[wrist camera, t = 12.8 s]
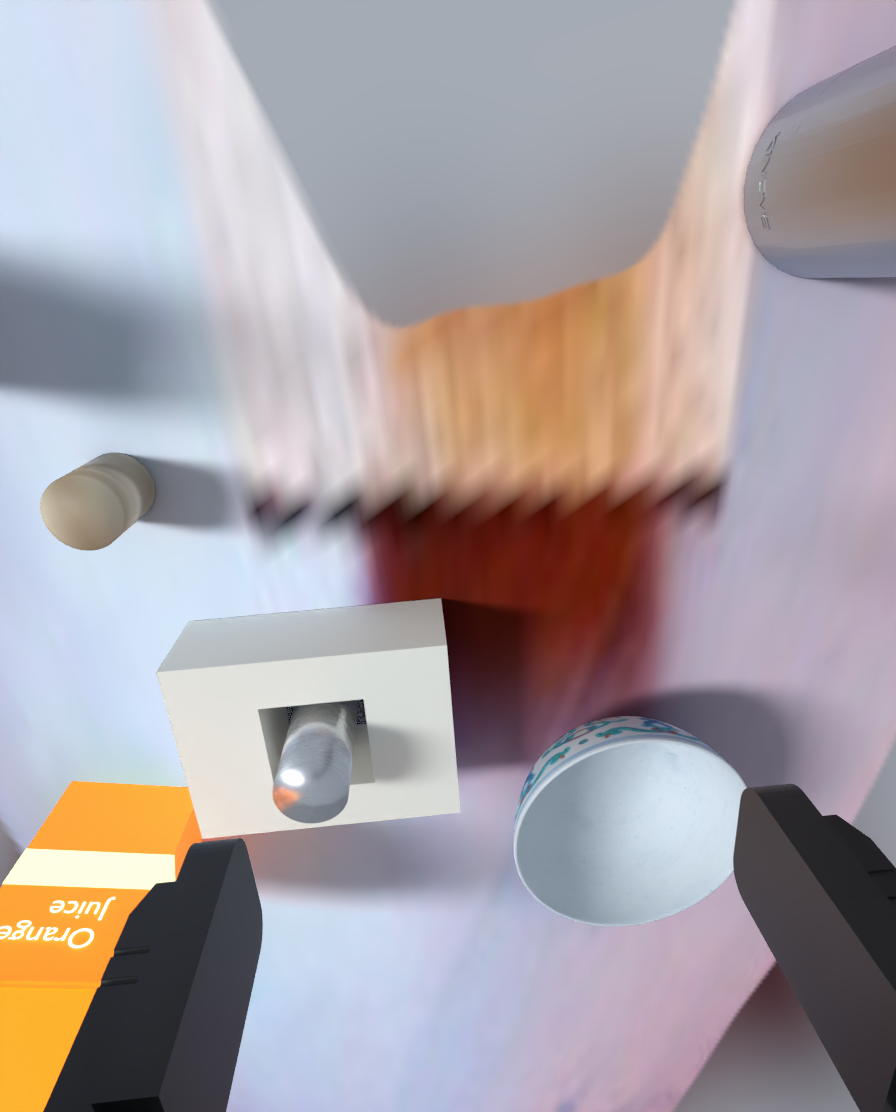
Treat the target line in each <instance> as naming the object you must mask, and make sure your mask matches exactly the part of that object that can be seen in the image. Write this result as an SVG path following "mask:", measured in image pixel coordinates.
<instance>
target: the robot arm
mask: <svg viewBox="0 0 896 1112" xmlns="http://www.w3.org/2000/svg"><path fill="white" fill-rule="evenodd" d="M744 213H745V218H746V223H747V228H748V230H749V233H750V235H751V237H752V240H753V242H754V244H755V246H756V247H757V249H758V250H759V251H760V253H761V254H762V255H763V257H764V258H765V259H766V260H767V261H768V262H770V263H771V264H772V265H774V266H775V267H776V268H777V269H779V270H781V271H783V272H786V273H788V274H790V275H793V276H797V277H804V278H866V277H896V46H894V47H892V48H890V49H888V50H886V51H883V52H881V53H879V54H877V55H875V56H873V57H871V58H869V59H867V60H864V61H862V62H860V63H858V64H856V65H854V66H852V67H850V68H848V69H846V70H844V71H842V72H840V73H838V74H836V75H834V76H832V77H830V78H828V79H826V80H824V81H822V82H820V83H818V84H816V85H814V86H812V87H810V88H809V89H807V90H805V91H803V92H802V93H800V94H798V95H797V96H796V97H794V98H793V99H792V100H791V101H790V102H789V103H787V104H786V105H785V106H784V107H783V108H782V109H781V110H780V111H779V112H778V113H777V114H776V116H775V117H774V118H773V119H772V121H771V122H770V123H769V124H768V125H767V127H766V129H765V130H764V132H763V134H762V136H761V137H760V139H759V141H758V143H757V144H756V146H755V149H754V152H753V154H752V157H751V160H750V163H749V165H748V169H747V174H746V180H745V185H744ZM733 868H734V874H735V879H736V883H737V886H738V889H739V892H740V895H741V897H742V899H743V901H744V903H745V905H746V907H747V908H748V910H749V912H750V914H751V916H752V917H753V919H754V921H755V923H756V925H757V926H758V928H759V930H760V932H761V934H762V935H763V937H764V939H765V941H766V943H767V944H768V946H769V948H770V950H771V952H772V953H773V955H774V957H775V959H776V961H777V962H778V964H779V966H780V968H781V970H782V971H783V973H784V975H785V977H786V979H787V980H788V982H789V984H790V986H791V988H792V989H793V991H794V993H795V995H796V997H797V998H798V1000H799V1002H800V1004H801V1006H802V1007H803V1009H804V1011H805V1013H806V1014H807V1016H808V1018H809V1020H810V1022H811V1024H812V1025H813V1027H814V1029H815V1031H816V1033H817V1034H818V1036H819V1038H820V1040H821V1042H822V1043H823V1045H824V1047H825V1049H826V1051H827V1052H828V1054H829V1056H830V1058H831V1060H832V1061H833V1063H834V1065H835V1067H836V1068H837V1070H838V1072H839V1074H840V1076H841V1078H842V1079H843V1081H844V1083H845V1085H846V1086H847V1088H848V1090H849V1092H850V1094H851V1096H852V1097H853V1099H854V1101H855V1102H856V1105H857V1106H858V1108H859V1110H860V1112H896V868H895V867H894V866H893V864H892V863H891V862H890V861H889V860H888V859H887V858H886V856H885V855H884V854H883V853H882V852H881V850H880V849H879V848H878V847H877V846H876V844H875V843H874V842H873V841H872V840H871V839H870V838H869V837H867V836H866V835H865V834H863V833H862V832H860V831H859V830H857V829H856V828H855V827H853V826H852V825H850V824H849V823H847V822H846V821H845V820H843V819H842V818H840V817H839V816H837V815H829V816H822V815H821V814H820V812H819V811H818V810H817V809H816V807H815V806H814V805H813V804H812V802H811V801H810V800H809V799H808V797H807V796H806V795H805V793H804V792H803V791H802V790H801V789H800V788H799V787H798V786H796V785H794V784H785V785H775V786H765V787H756V788H747V789H745V790H744V791H743V792H742V794H741V799H740V806H739V814H738V822H737V830H736V838H735V846H734V854H733ZM261 943H262V910H261V904H260V900H259V896H258V892H257V888H256V884H255V879H254V875H253V871H252V867H251V863H250V859H249V855H248V851H247V847H246V844H245V842H244V840H243V839H242V838H238V839H228V840H218V841H208V842H199V843H193V844H192V845H191V846H190V847H189V849H188V851H187V853H186V856H185V859H184V861H183V864H182V866H181V869H180V872H179V874H178V877H177V880H176V881H174V882H164V883H156V884H155V885H154V886H153V887H152V888H151V890H150V891H149V892H148V893H147V894H146V895H145V897H144V898H143V899H142V900H141V901H140V902H139V904H138V905H137V906H136V907H135V908H134V909H133V911H132V912H131V913H130V914H129V916H128V918H127V921H126V923H125V925H124V927H123V930H122V932H121V934H120V937H119V939H118V941H117V943H116V946H115V948H114V955H113V957H110V960H109V962H108V964H107V966H106V969H105V971H104V973H103V976H102V978H101V985H100V987H97V989H96V992H95V994H94V996H93V999H92V1001H91V1003H90V1005H89V1008H88V1010H87V1012H86V1015H85V1017H84V1019H83V1021H82V1024H81V1026H80V1028H79V1031H78V1033H77V1035H76V1037H75V1040H74V1042H73V1044H72V1047H71V1049H70V1051H69V1054H68V1056H67V1058H66V1060H65V1063H64V1065H63V1067H62V1070H61V1072H60V1074H59V1076H58V1079H57V1081H56V1083H55V1086H54V1088H53V1090H52V1093H51V1095H50V1097H49V1099H48V1102H47V1104H46V1106H45V1108H44V1110H43V1112H226V1109H227V1104H228V1099H229V1095H230V1090H231V1085H232V1081H233V1076H234V1071H235V1067H236V1062H237V1057H238V1053H239V1048H240V1043H241V1039H242V1034H243V1029H244V1025H245V1020H246V1015H247V1011H248V1006H249V1001H250V997H251V992H252V987H253V983H254V978H255V973H256V969H257V964H258V959H259V955H260V949H261Z"/></svg>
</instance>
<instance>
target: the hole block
mask: <svg viewBox="0 0 896 1112" xmlns="http://www.w3.org/2000/svg"><path fill="white" fill-rule="evenodd" d="M156 674H157V677H158V681H159V684H160V688H161V692H162V695H163V699H164V702H165V706H166V710H167V713H168V717H169V720H170V724H171V728H172V731H173V735H174V738H175V742H176V746H177V749H178V753H179V757H180V760H181V764H182V767H183V771H184V775H185V778H186V782H187V785H188V789H189V793H190V796H191V800H192V803H193V807H194V811H195V814H196V818H197V822H198V825H199V829H200V832H201V836H202V839H206V838H216V837H226V836H236V835H246V834H256V833H265V832H275V831H285V830H295V829H305V828H314V827H324V826H334V825H344V824H354V823H364V822H373V821H383V820H393V819H403V818H413V817H423V816H432V815H442V814H452V813H460V801H459V789H458V776H457V764H456V752H455V739H454V727H453V714H452V702H451V690H450V677H449V665H448V652H447V642H446V634H445V626H444V618H443V610H442V602H441V598H439V599H428V600H417V601H406V602H395V603H384V604H373V605H362V606H351V607H340V608H329V609H318V610H307V611H296V612H285V613H274V614H263V615H252V616H241V617H230V618H219V619H208V620H197V621H189V622H188V623H187V625H186V627H185V628H184V630H183V631H182V633H181V634H180V636H179V638H178V639H177V641H176V642H175V644H174V645H173V647H172V648H171V650H170V652H169V653H168V655H167V656H166V658H165V659H164V661H163V663H162V664H161V666H160V667H159V669H158V670H157V672H156ZM360 699H363V700H364V707H365V714H366V721H367V723H366V724H356V732H355V741H354V751H353V760H352V769H351V779H350V788H349V797H348V802H347V804H346V806H345V808H344V809H343V810H342V812H341V813H339V814H338V815H337V816H336V817H334V818H332V819H330V820H328V821H325V822H321V823H312V824H311V823H301V822H297V821H295V820H292V819H290V818H288V817H287V816H285V815H284V814H283V813H281V812H280V810H279V809H278V808H277V807H276V805H275V803H274V800H273V795H272V790H273V785H274V781H275V778H276V774H277V770H278V766H279V762H280V759H281V755H282V751H283V747H284V743H285V739H286V736H287V732H288V728H289V724H290V723H289V718H288V713H287V706H298V705H308V704H319V703H329V702H339V701H350V700H360Z"/></svg>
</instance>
